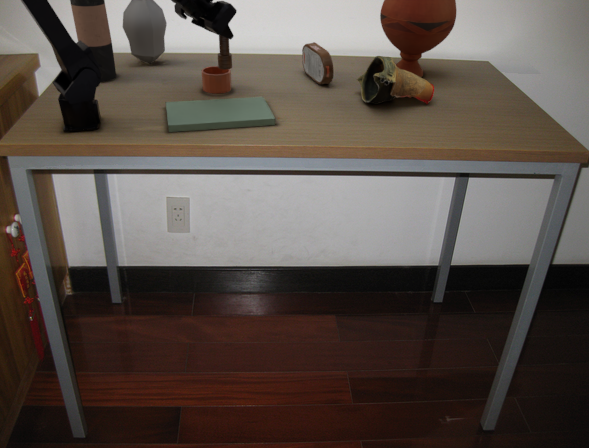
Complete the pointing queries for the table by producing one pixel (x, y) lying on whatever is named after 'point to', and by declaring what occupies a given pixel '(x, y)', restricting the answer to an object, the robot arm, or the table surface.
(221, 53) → the stirrer
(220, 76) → the cup
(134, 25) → the grey tall faceted solid
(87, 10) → the travel mug
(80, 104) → the robot arm
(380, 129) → the table surface
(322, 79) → the tin
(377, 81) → the pot
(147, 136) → the table surface
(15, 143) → the table surface
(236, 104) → the board
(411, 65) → the goblet
